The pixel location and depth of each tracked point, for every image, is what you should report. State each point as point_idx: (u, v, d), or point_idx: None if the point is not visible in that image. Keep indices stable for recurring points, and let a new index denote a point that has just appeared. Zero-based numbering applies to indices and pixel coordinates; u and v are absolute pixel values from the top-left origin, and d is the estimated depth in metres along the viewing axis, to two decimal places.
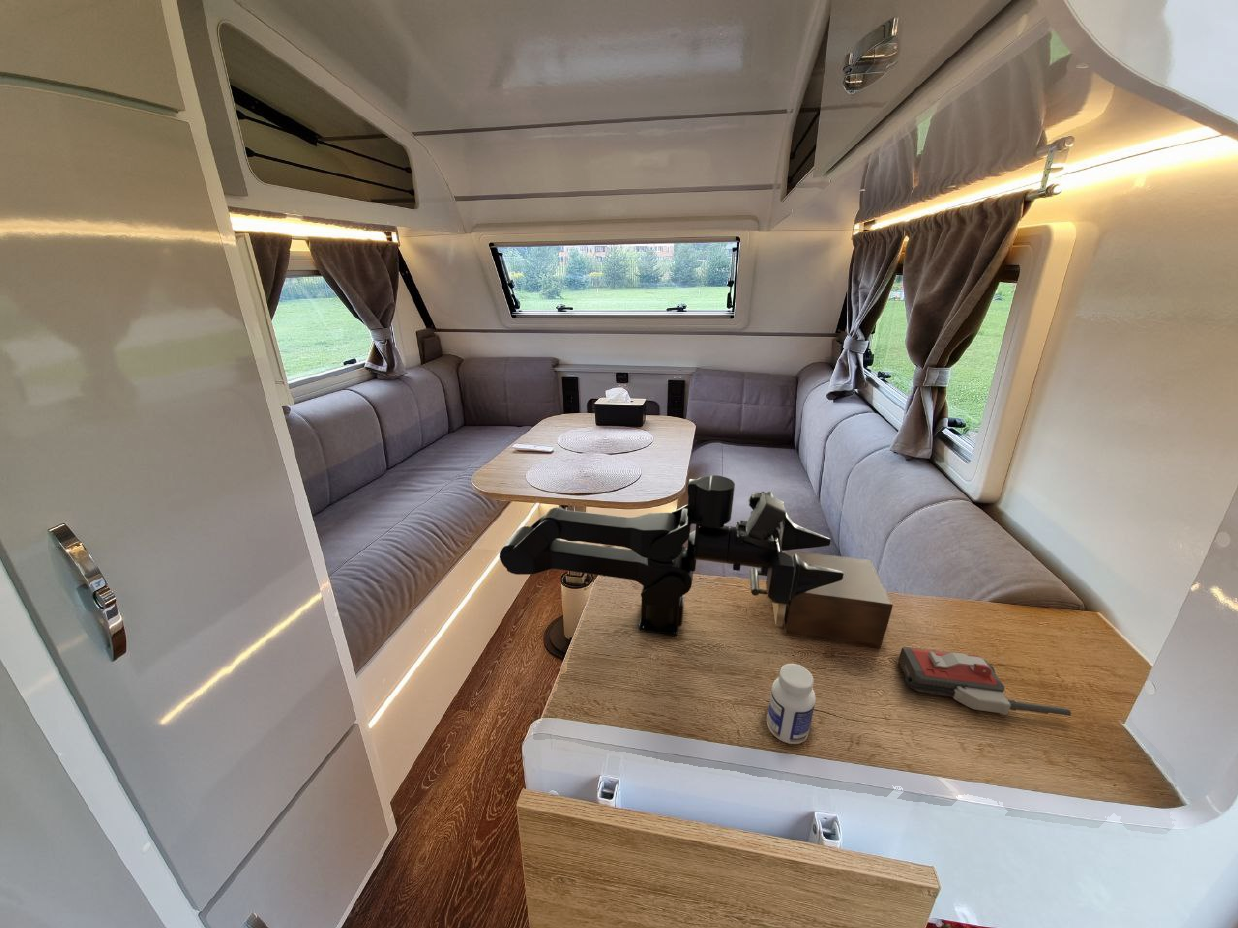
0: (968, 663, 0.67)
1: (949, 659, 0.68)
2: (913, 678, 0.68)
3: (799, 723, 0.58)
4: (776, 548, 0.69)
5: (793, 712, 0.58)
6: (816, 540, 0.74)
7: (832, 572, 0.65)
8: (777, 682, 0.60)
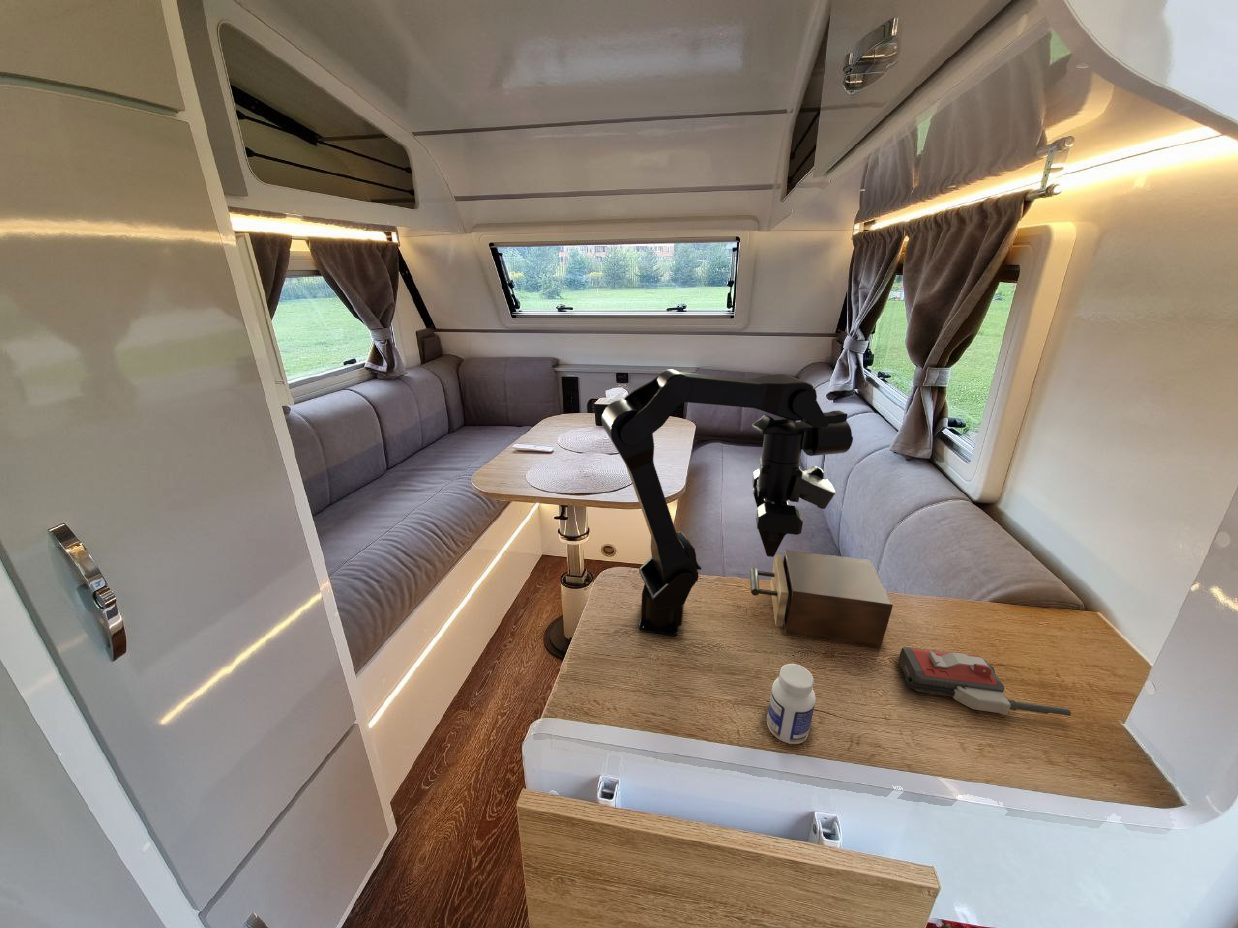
0: (968, 663, 0.67)
1: (949, 659, 0.68)
2: (913, 678, 0.68)
3: (799, 723, 0.58)
4: None
5: (793, 712, 0.58)
6: None
7: (776, 550, 0.75)
8: (777, 682, 0.60)
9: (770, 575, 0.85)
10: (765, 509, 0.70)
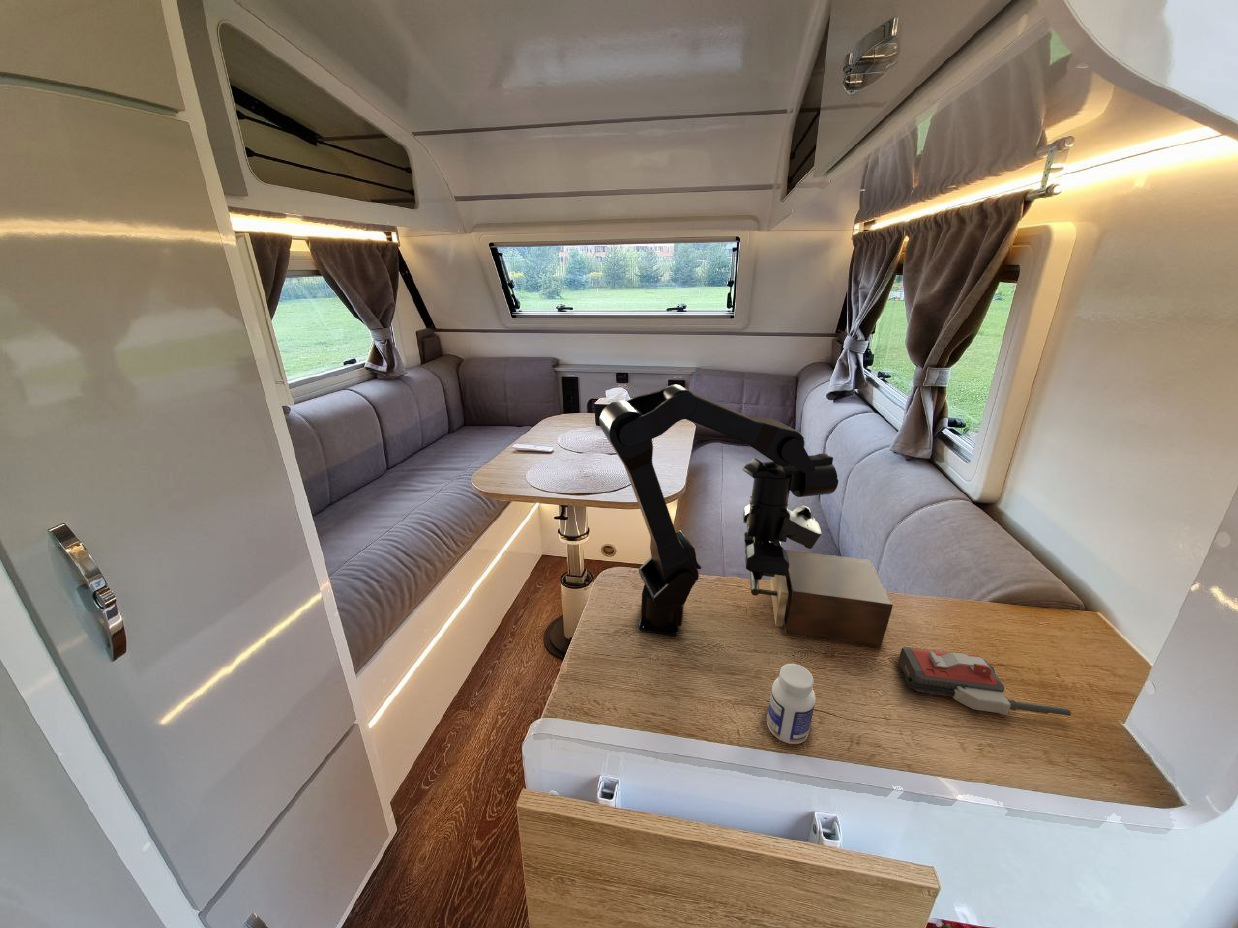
0: (968, 663, 0.67)
1: (949, 659, 0.68)
2: (913, 678, 0.68)
3: (799, 723, 0.58)
4: None
5: (793, 712, 0.58)
6: None
7: (763, 574, 0.81)
8: (777, 682, 0.60)
9: (770, 575, 0.85)
10: (753, 550, 0.73)
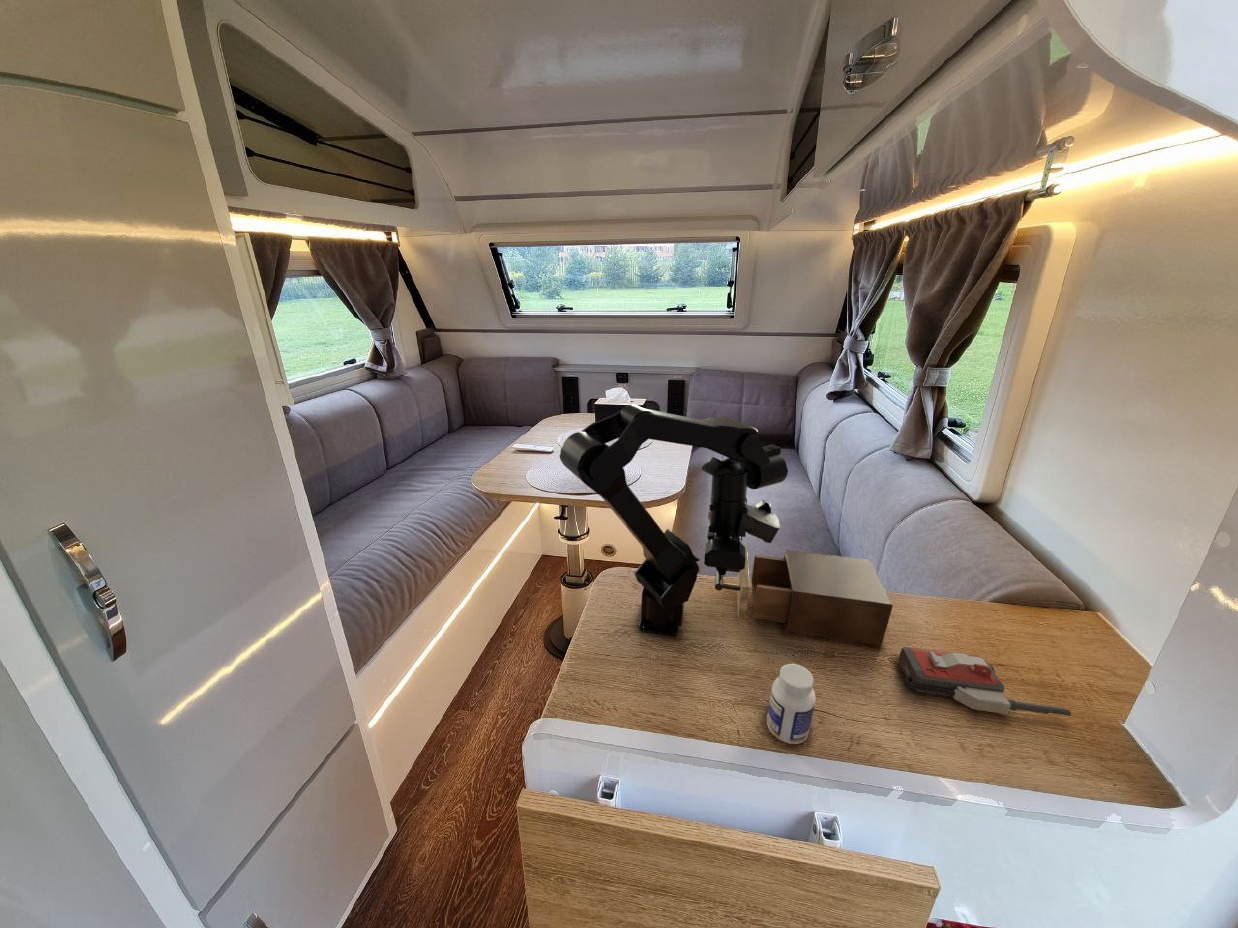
0: (968, 663, 0.67)
1: (949, 659, 0.68)
2: (913, 678, 0.68)
3: (799, 723, 0.58)
4: None
5: (793, 712, 0.58)
6: None
7: (726, 569, 0.82)
8: (777, 682, 0.60)
9: (735, 570, 0.86)
10: (711, 545, 0.74)
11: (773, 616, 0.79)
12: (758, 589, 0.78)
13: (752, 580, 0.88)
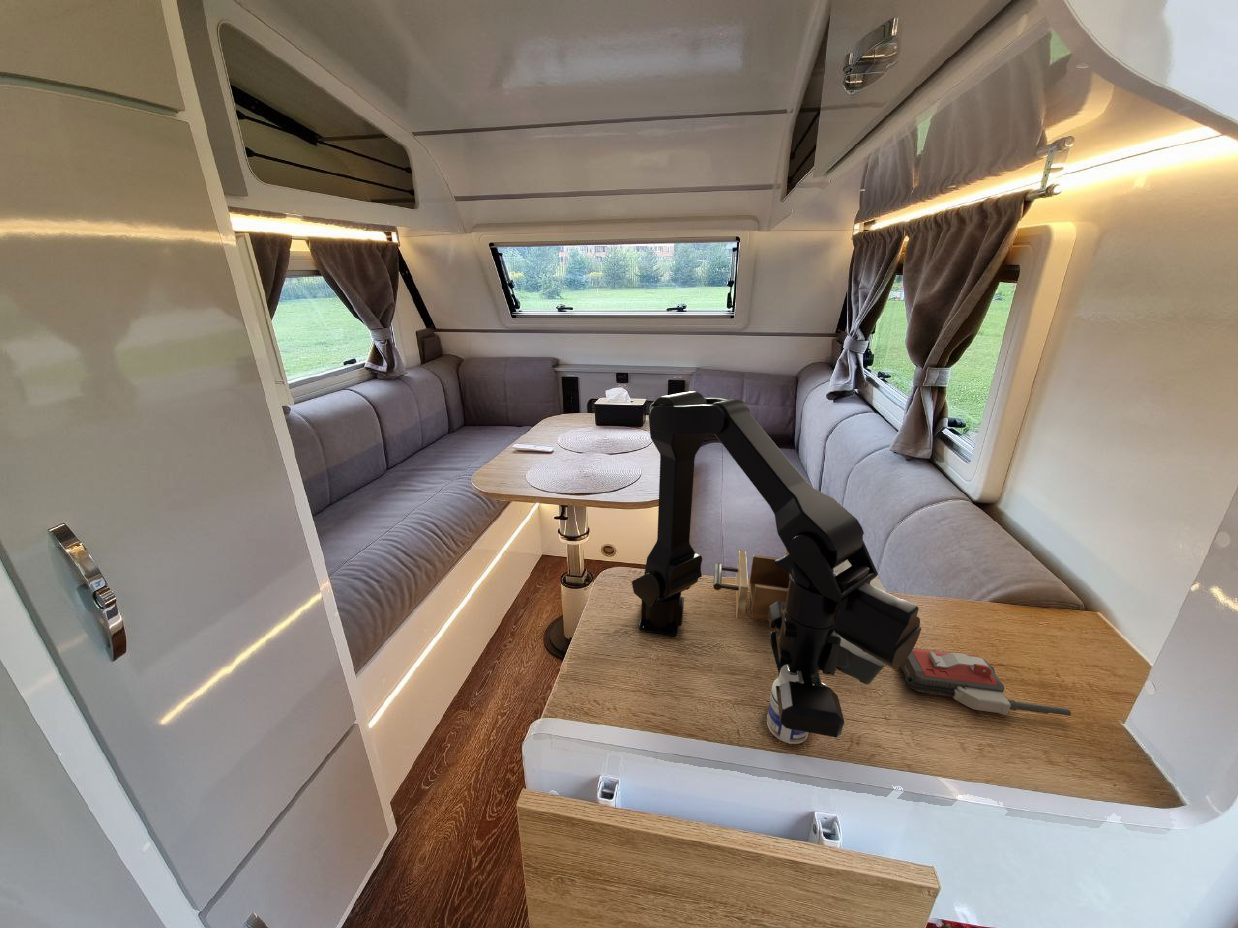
0: (968, 663, 0.67)
1: (949, 659, 0.68)
2: (913, 678, 0.68)
3: None
4: None
5: None
6: None
7: None
8: (777, 682, 0.61)
9: (734, 570, 0.86)
10: (791, 696, 0.51)
11: None
12: (756, 589, 0.78)
13: (751, 580, 0.88)
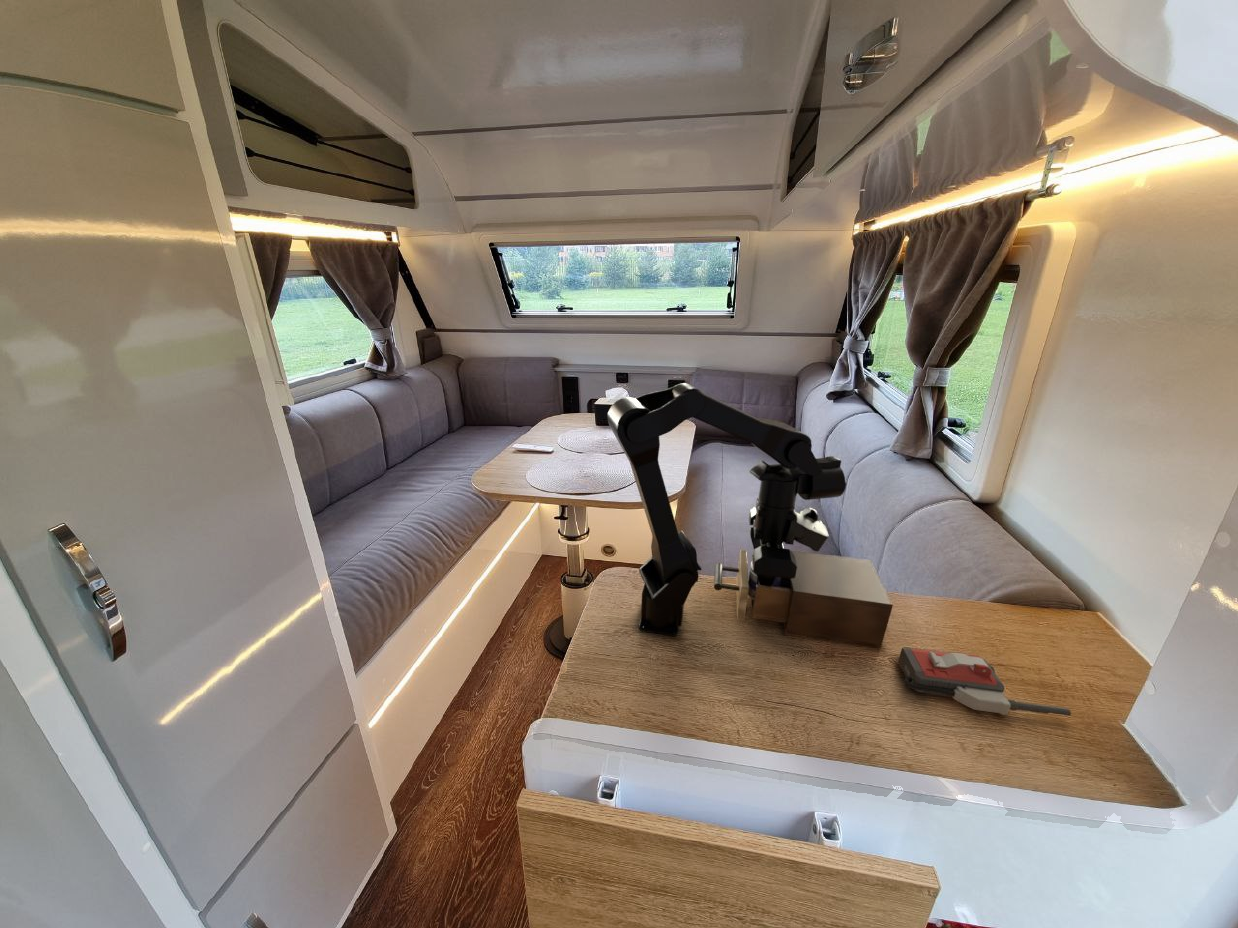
0: (968, 663, 0.67)
1: (949, 659, 0.68)
2: (913, 678, 0.68)
3: None
4: None
5: None
6: None
7: (770, 585, 0.79)
8: None
9: (734, 570, 0.86)
10: (761, 553, 0.72)
11: (772, 616, 0.79)
12: (757, 589, 0.78)
13: None
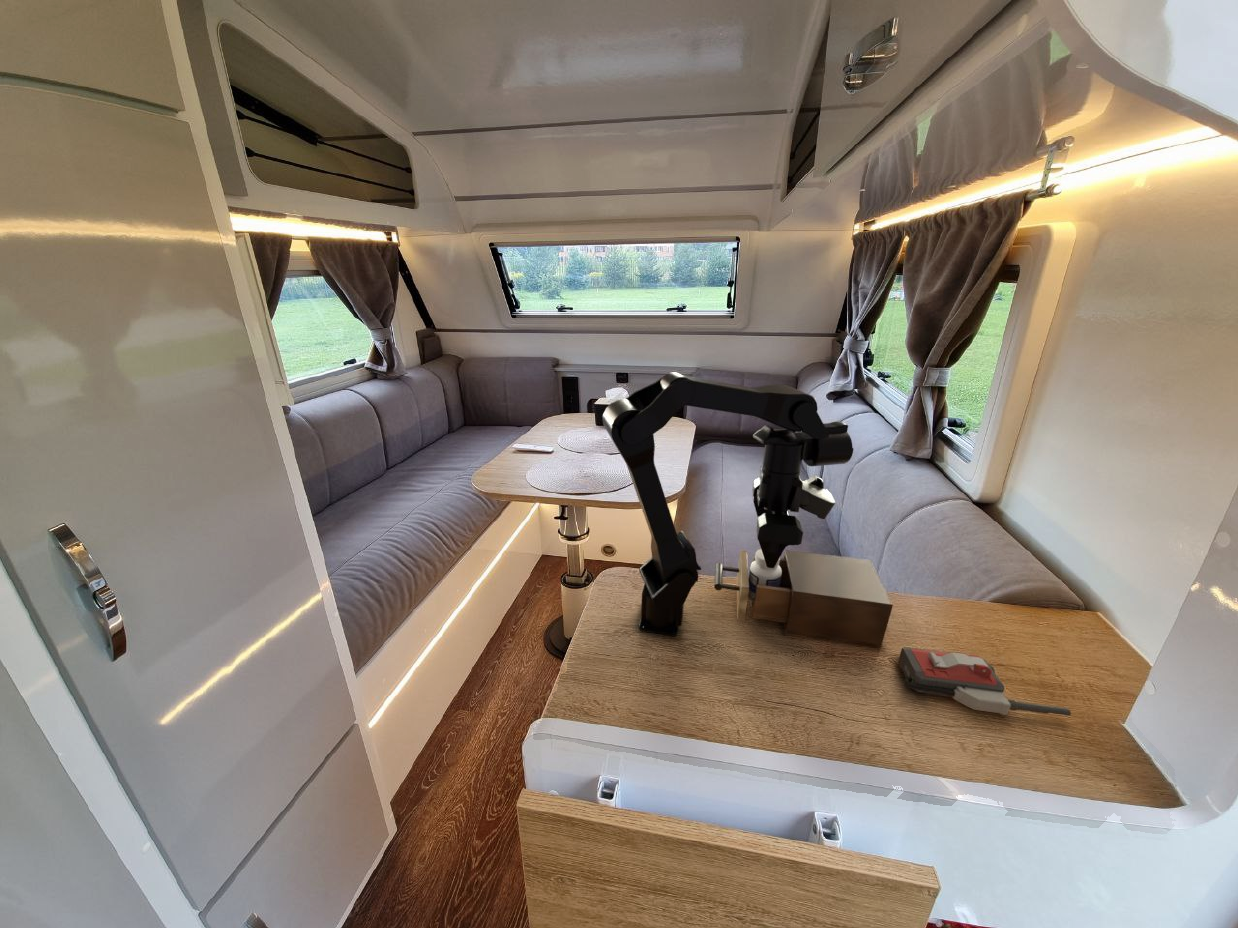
0: (968, 663, 0.67)
1: (949, 659, 0.68)
2: (913, 678, 0.68)
3: None
4: None
5: (765, 580, 0.80)
6: None
7: (776, 561, 0.75)
8: (754, 562, 0.82)
9: (735, 570, 0.86)
10: (765, 519, 0.70)
11: (772, 616, 0.79)
12: (757, 589, 0.78)
13: None
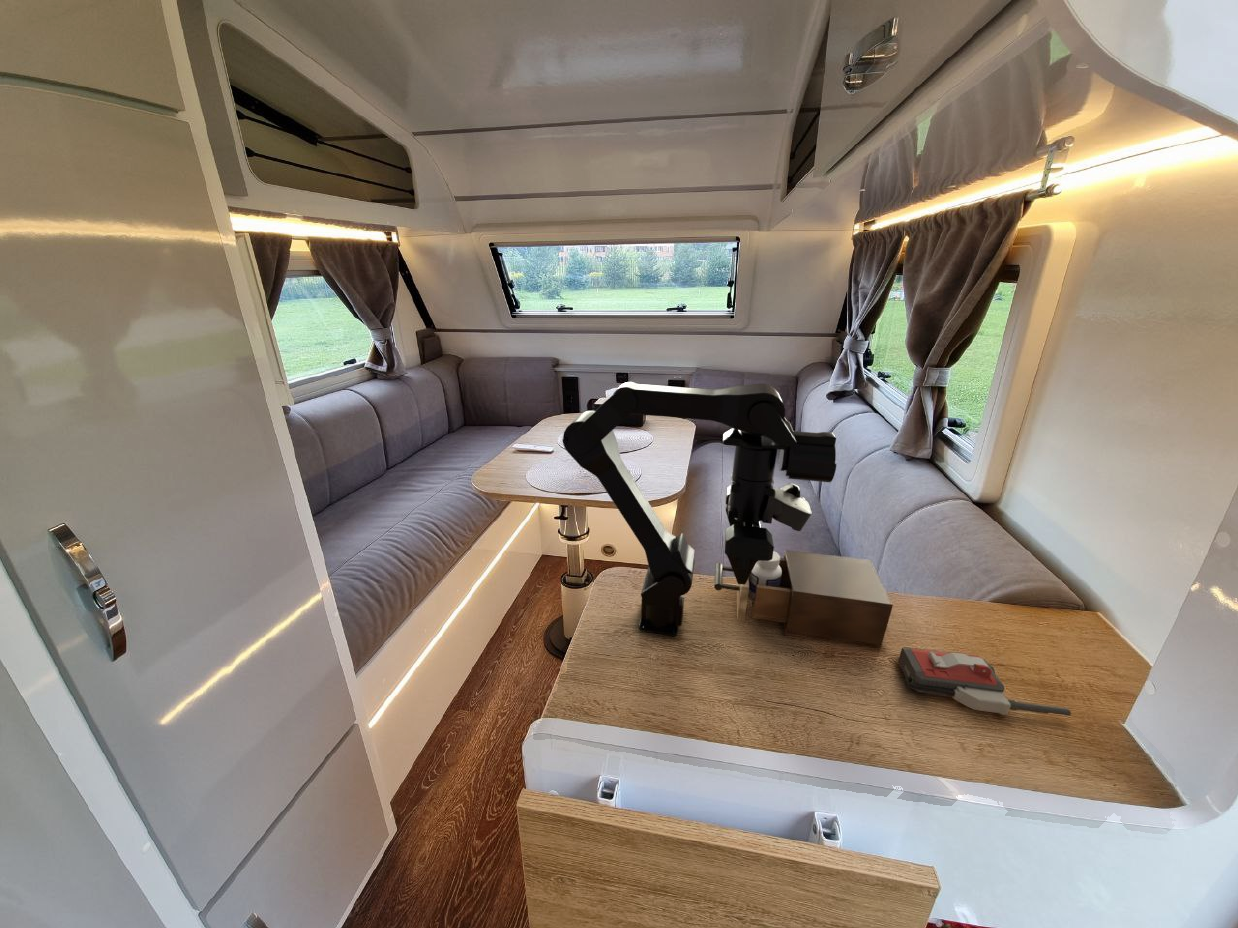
0: (968, 663, 0.67)
1: (949, 659, 0.68)
2: (913, 678, 0.68)
3: None
4: None
5: (765, 580, 0.80)
6: None
7: (747, 577, 0.68)
8: None
9: None
10: (733, 532, 0.63)
11: (772, 616, 0.79)
12: (757, 589, 0.78)
13: None
